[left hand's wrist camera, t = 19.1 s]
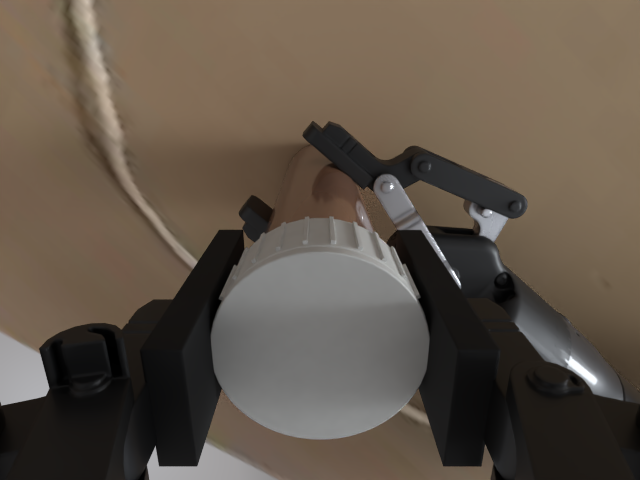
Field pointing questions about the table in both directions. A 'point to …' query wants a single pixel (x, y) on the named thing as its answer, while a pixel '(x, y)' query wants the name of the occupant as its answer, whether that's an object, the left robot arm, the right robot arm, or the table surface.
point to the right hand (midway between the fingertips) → (276, 168)
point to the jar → (318, 193)
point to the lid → (320, 331)
